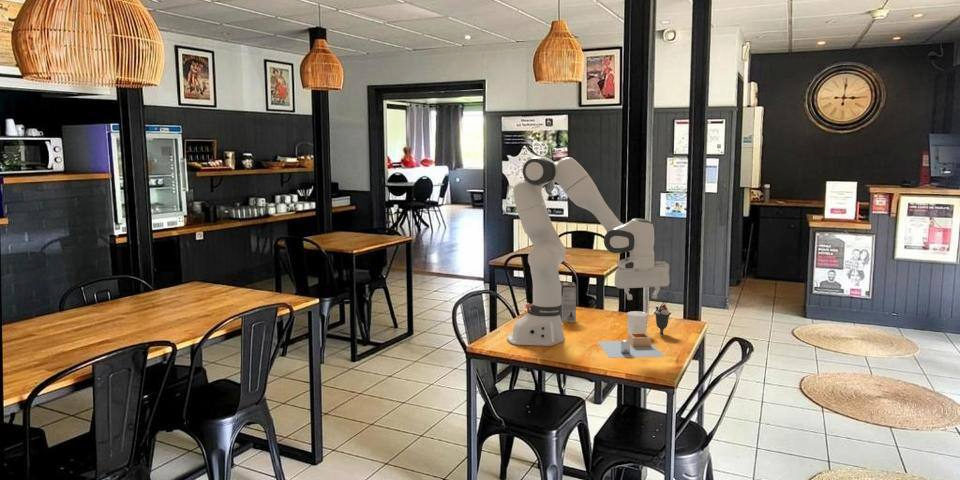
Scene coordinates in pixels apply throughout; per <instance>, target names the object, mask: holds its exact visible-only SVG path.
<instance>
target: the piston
mask: <svg viewBox="0 0 960 480" xmlns="http://www.w3.org/2000/svg"><path fill="white" fill-rule="evenodd" d="M620 341H621V353H622V354H630V340H628V339H621V340H620Z"/></svg>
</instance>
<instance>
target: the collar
mask: <svg viewBox="0 0 960 480" xmlns="http://www.w3.org/2000/svg"><path fill="white" fill-rule="evenodd" d="M627 340H630V345H631V346H632V347H651V343H652V337H651V336H650V335H649V334H648V333H647V332H646V333H628V332H627Z"/></svg>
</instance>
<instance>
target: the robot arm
mask: <svg viewBox="0 0 960 480" xmlns="http://www.w3.org/2000/svg"><path fill="white" fill-rule="evenodd" d="M522 176H523V178H524V179H523V180H520V181H519V182H517V183H516V184H515V185H514V186H513V190H512V193H513V198H514V204H515V205H514V206H515V207H516V211H517V214H518V217H519V220H520V223H521V226H522V229H523V232H524V233H525V234H526V235H527V237H528V238H529V240H530V242H531V244H532V245H533V247H532V248H531V249H530V251H529V252H528V256H527V263H528V265H529V269H530V275H531V279H532V281H531V282H532V302H531V303H529V302H526V304H525V308H526V310H527V313H526V314H524V315H523V316H522V317H520V318H519V319H518V320H516V321H515V323H514V325H513V328H512V329H513V330H512V332H510V333H508V335H507V342H508V343H510V344H512V345H518V346H519V345H520V346H521V345H522V346H544V347H552V346H554V345H556V344H560V343H563V342H564V341H565V340H566V339H565V334H564V331H563V324H562V323H563V322H562V321H561V319H562V304H561V283H560V282H561V279H560V273H559V265H561V264H562V263H563V261H565V257H566V255H567V253H566V251H567V250H566V247H565V245H564V243H563V242H562V241H561V238H560V237H559V234H558V232H557V230H556V229H555V227H554V225H553V222H552V220H551V217H550V214H549V211H548V209H547V206H546V203H545V200H544V197H543V193H542V189H544V188H545V187H547V186H548V185H550V184H551V183H552V182H555V183H557V184H558V186H560V188H561V189H562V191H563V192H564V193H565V194H566V196H567V197H568V199H569V200H570V201H571V202H572V203H573V204H575V205H576V206H577V207H580V208H581V209H585V210H586V211H589V212H590V213H591V214H592V215H594V217H595V218H596V219H597V220H598V221H599V223H600V224H601V225H602V227H603V228H604V229H605V231H606V233H605V235H604V238H603V244H604V247H605V249H606V250H607V251H608V252H609V253H612V254H617V255H618V254H623V253H628V252H629V256H628V257H626V258H622V259H620V260H618V261H617V262H616V265H617V268H616V270H615V273H614V279H613V280H614V282H613V283H614V287H616V288H617V289H623V290H624V292H625V294H626V299H627V300H628V301H631V300H633V295H632V294H631V293H630V289H638V288H653V289H654V292H652V293H651V299H652V300H653V299H657V298H658V294H659V292H660V291H661V287H668V286H669V285H670V283H671V282H670V273H669V272H670V265H669V263H668V262H666V261H664V260H663V261H655V250H654V247H655V229H654V225H653V223H652V222H651V221H650V220H649V219H645V218H640V217H639V218H638V217H635V218H632V219H631V220H629V221H628V222H625V223H624V222H622V221H621V220H620V219H619V218H618V216H617V215H616V213H614V211H613V210H612V209H611V208H610V206H609V205H608V204H607V203H606V201H605V200H604V198H603V196H602V194H601V192H600V191H599V189H598V187H597V185H596V184H595V182H594V180H593V178H592V177H591V176H590V175H589V173H588V172H587V170H585V169H584V167H583V166H582V165H581V164H580V163H579V162H578V161H577V160H576V159H574V158H573V157H570V156H568V157H563V158H561V159H560V160H558V161H555V160H554V159H553V158H551V157H549V156H544V155H538V156H534V157H531V158H529V159H528V160H526V161H525V163H524V164H523V166H522Z"/></svg>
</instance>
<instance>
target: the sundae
mask: <svg viewBox="0 0 960 480" xmlns="http://www.w3.org/2000/svg"><path fill="white" fill-rule="evenodd" d="M668 303H669V301H666V302H665V303H664V304H662V305H660V306H656V308H655V311H654V312H653V314H654V315H655V321H656V327H657V328H658V329H659V330H660V331H659V335H660V336H661V335H664V330H665V329H666V328H668V325H669V324H668V323H669V318H670V316H671V314H672V312H670V310H668V307H667V306H666V305H667V304H668Z"/></svg>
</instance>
